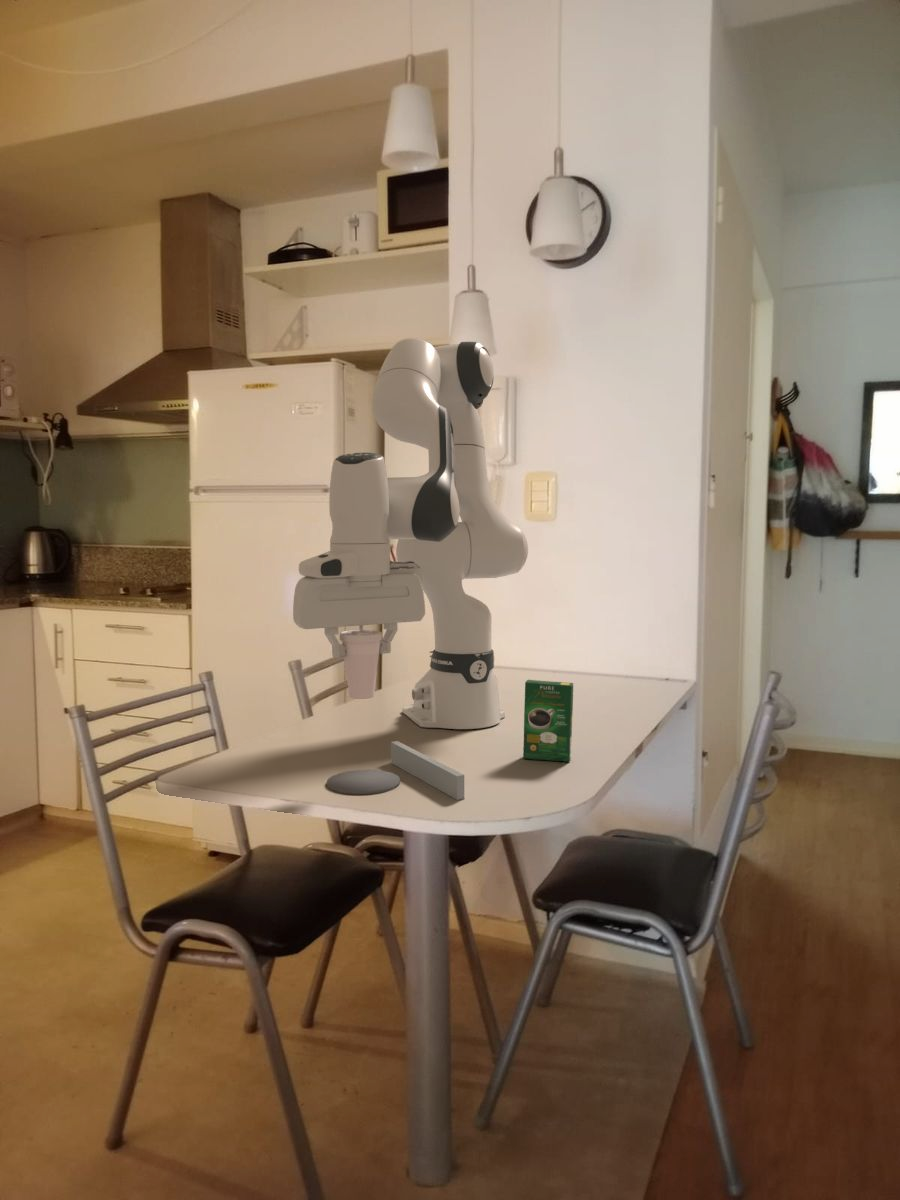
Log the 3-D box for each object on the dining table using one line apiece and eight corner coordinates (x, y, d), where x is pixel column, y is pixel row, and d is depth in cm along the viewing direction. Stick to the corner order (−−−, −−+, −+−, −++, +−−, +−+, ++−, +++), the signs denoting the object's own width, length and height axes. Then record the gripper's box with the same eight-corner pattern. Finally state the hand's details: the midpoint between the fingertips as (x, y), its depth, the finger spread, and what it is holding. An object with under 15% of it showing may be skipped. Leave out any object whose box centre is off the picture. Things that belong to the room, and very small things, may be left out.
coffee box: (573, 758, 150) (574, 680, 149) (571, 763, 147) (572, 684, 146) (525, 755, 152) (526, 678, 151) (522, 759, 149) (523, 681, 148)
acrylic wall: (391, 762, 148) (391, 741, 147) (397, 761, 148) (397, 741, 148) (457, 800, 129) (457, 776, 128) (464, 798, 129) (464, 774, 129)
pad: (316, 779, 139) (316, 776, 139) (381, 769, 144) (381, 766, 144) (343, 799, 129) (343, 795, 129) (412, 787, 135) (412, 784, 135)
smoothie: (384, 691, 139) (383, 601, 137) (381, 700, 132) (381, 606, 131) (342, 692, 138) (341, 601, 137) (338, 701, 132) (336, 606, 131)
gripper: (413, 559, 141) (414, 646, 143) (288, 563, 131) (290, 657, 133) (432, 561, 136) (432, 652, 137) (302, 566, 126) (305, 663, 127)
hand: (361, 654), depth 135 cm, fingers closed on smoothie, 6 cm apart
